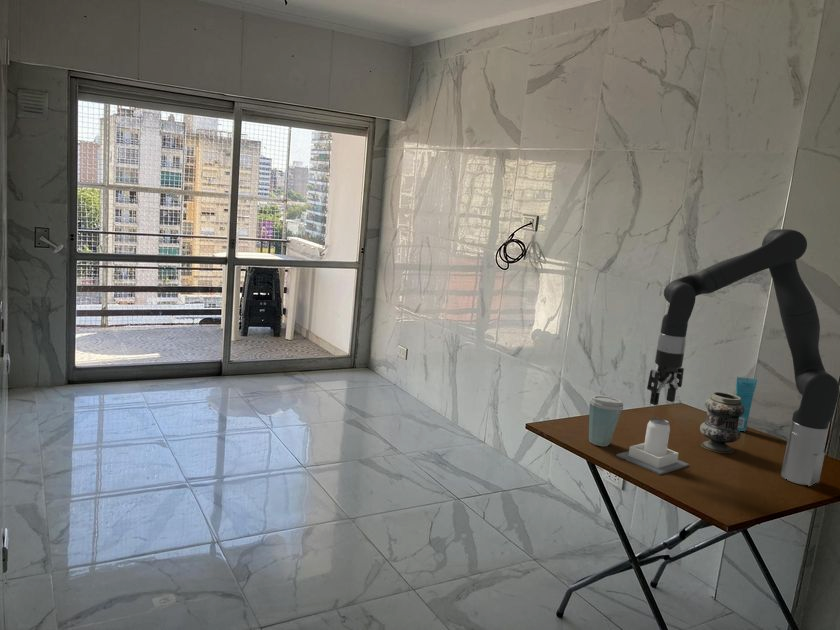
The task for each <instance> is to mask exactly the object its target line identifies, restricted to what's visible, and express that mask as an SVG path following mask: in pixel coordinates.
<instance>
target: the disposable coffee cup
mask: <svg viewBox="0 0 840 630" xmlns="http://www.w3.org/2000/svg"><path fill="white" fill-rule="evenodd" d="M588 402H589V417H588V418H589V419H588V422H589V423H588V440H589V441H588V442H589V443H591V444H592V445H595V446H600V447H608V445H609V446H610V444H611V442H612V439H613V436H614V433H615V431H616V428H617V425H618V422H619V420H620V417H621V413H622V410H624V403H623V401H622V400H620V399H618V398H614V397H612V396H608V395H607V396H606V395H599V394H597V395H592V396H591V397H590V398H589V401H588Z"/></svg>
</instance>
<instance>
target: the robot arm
mask: <svg viewBox="0 0 840 630" xmlns="http://www.w3.org/2000/svg"><path fill="white" fill-rule="evenodd" d="M807 248H808V239H806V237H805V235H804V234H803V233H802V232H800V231H798V230H794V229H788V228H787V229H786V228H785V229H783V228H782V229H777V228H776V229H773V230H770V231H769V232H767V233H766V235H765V236H764V237H763V240H762V242H761V246H759V247H758V248H755V249H754V250H751V251H749V252H746V253H743V254H740V255H737V256H734V257H731V258H727V259H724V260H722V261H719V262H717V263H714V264H712V265H710V266H708V267H706V268H704V269H702V270H700V271H698V272H695V273H692V274H688V275H685V276H682V277H679V278H677V279H676V278H675V279H674V280H672V281H671V282H669V283H668V284H667V285H666V286H665V288H664V289H663V297H664V299H665V300H666V302H668V303H669V305H668V306H669V307H668V309H667V313H666V314H665V315H664V316H663V318H662V322H661V327H660V334H659V337H658V341H657V347H656V352H655V353H656V354H655V360H654V363H655V365H657V366H658V367H657V370H654V369H651V370H650V372H649V376H648V381H647V382H648V383H647V387H646V389H647V390H649V391H650V392H651V393H650V399H649V400H650V401H649V403H650V405H653V406H658V405H659V400H660V394H661V393H660V392H662V389H663V388H665V387H666V385H667V386H668V389H667V394H666V401H667V402H671V403H673V402H675V399H676V392H677V390H678V389H679V388H681V387H682V384H683V378H684V371H685V368H684V367H682V366H683V361H684V357H685V356H684V355H685V349H686V345H687V344H686V341H687V340H686V339H687V332H688V326H689V320H690V318H691V315H692V313H693V311H694V310H693V309H694V307H695V304H696V298H697V296H700V295H705V294H706V295H708V294H712V293H714V292H717V291H718V290H720V289H724V288H725V287H728V286H730V285H732V284H733V283H737V282H738V281H740V280H743V279H745V278H747V277H749V276H752V275H754V274H757V273H759V272H762V271H764V270H767V269H768V270H769V273H770V275H771V279H772V283H773V287H774V292H775V296H776V301H777V304H778V311H779V314H780V318H781V322H782V326H783V329H784V333H785V337H786V341H787V343H788V347H789V350H790V354H791V357H792V365H793V372H794V381H795V386H796V389H797V391H798V393H799V394H800V395H801V401H800V404H799V408H798V409H796V410H794V412H793V413H792V417H791V422H790V427H789V432H788V437H787V442H786V448H785V452H784V457H783V462H782V465H781V466H782V467H781V470H780V471H781V472H780V477H782V478H783V479H785V480H786V479H787V480H786V481H789V482H790V483H791V482H792V483H794V484H798V485H802V486H806V485H808V486H807V487H809V486H811V485H813V484H815V483H817V482H819V483H820V478H821V474H822V469H823V465H824V464H823V463H824V459H825V455H826V453H825V451H824V446H825V442H826V438H827V433H828V428H829V425H830V422H831V421H832V420H833V419H834V415H835V412H836V407H837V404H838V400H839V396H840V384H839V382H838V380H837V378H835V377H834V376H833V375H831V374H829V373H828V372H827V371H826V369H825V367H824V365H823V361H822V358H821V354H820V349H819V348H820V345H819V344H820V343H819V342H820V334H821V325H820V323H821V322H820V318H819V314H818V310H817V305H816V302H815V300H814V298H813V296H812V294H811V292H810V291H809V289H808V287H807V286H806V284H805V283H804V281H803V279H802V277H801V274H800V273H799V267H798V265H797V260H799V259H800V258H802V256H803V255H804V254H805V253H806V251H807ZM817 484H818V483H817ZM815 485H816V484H815ZM813 486H814V485H813ZM811 487H812V486H811Z"/></svg>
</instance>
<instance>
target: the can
mask: <svg viewBox="0 0 840 630" xmlns="http://www.w3.org/2000/svg"><path fill="white" fill-rule="evenodd" d="M670 433H671V426H670V421H669V420H667V419H663V418H659V417H651V418H649V421H648V422H647V425H646V431H645V437H644V438H645V439H644V442H643V443H644V448H643V451H645V452H647V453H650V454H652V455H655V456H657V457H661V456H664V455H666V450H667V449H668V445H669V438H670Z"/></svg>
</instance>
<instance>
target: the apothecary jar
mask: <svg viewBox="0 0 840 630" xmlns="http://www.w3.org/2000/svg"><path fill="white" fill-rule="evenodd" d="M704 406H705V408H706V410H707V413H706V418H705V421H704V422H702V423H701V424H700V425H699V431H700V433H701V434H702V435H703V436H704V437H705V438H707V439H709V440H706V441H702V442H701V443H700V446H701V447H702V448H704V449H705V450H708V451H710V452H714V453H718V454H726V455H727V454H728V455H729V454H732V453H734V451H735V450H734V448H733V447H732V446H730V445H728V444H729V443H731V444H732V443H735V442H737V441H739V439H740V438H741V432H740V431H739V430H738V429H737V427H738V420H739V416H741V415H742V414H743V413H744V411H745V409H744V407H743V405H742V404H741V398H740V397H738V396H736V395H735V394H733V393H728V392H723V391H714V392H712V395H711V397H709V398H708V399H706V400H705V403H704Z"/></svg>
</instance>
